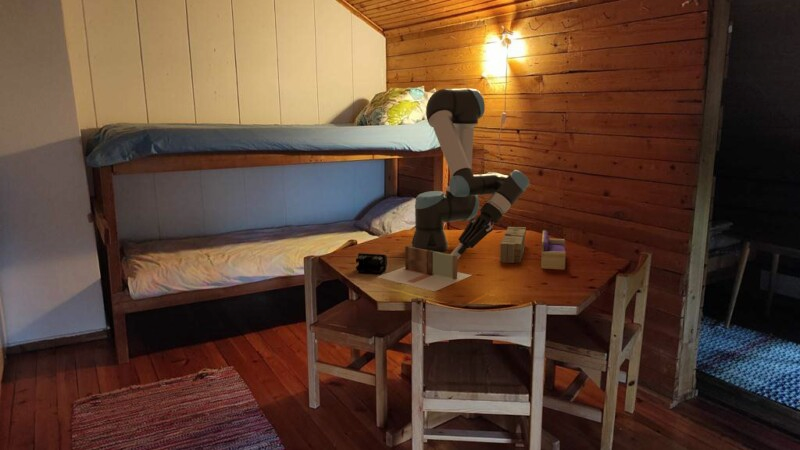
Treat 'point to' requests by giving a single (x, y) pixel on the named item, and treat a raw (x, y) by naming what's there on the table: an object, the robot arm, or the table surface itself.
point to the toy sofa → (553, 253)
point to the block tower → (513, 245)
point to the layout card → (421, 279)
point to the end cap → (371, 263)
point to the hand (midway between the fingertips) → (451, 259)
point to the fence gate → (445, 265)
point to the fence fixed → (419, 260)
